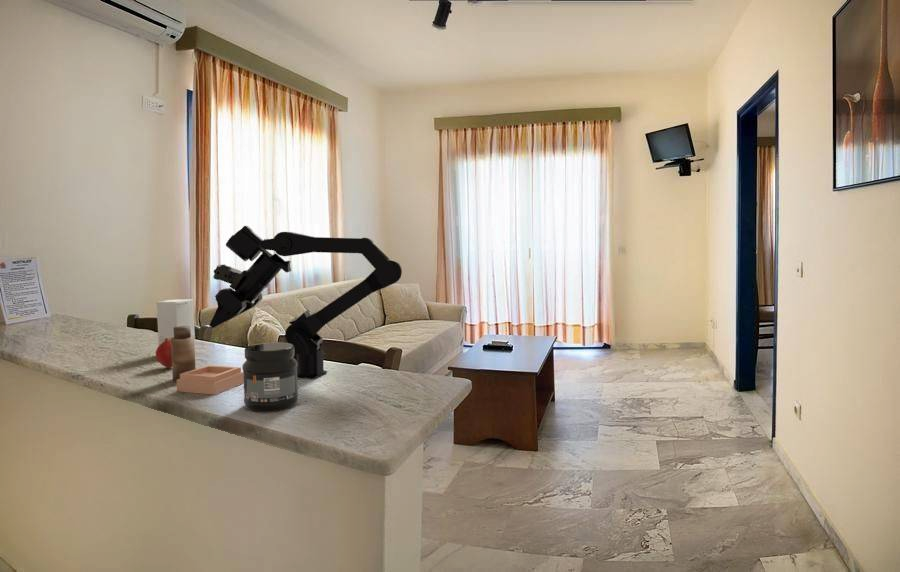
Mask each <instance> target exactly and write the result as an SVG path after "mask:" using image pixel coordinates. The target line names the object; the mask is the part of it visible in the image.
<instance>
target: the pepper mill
mask: <svg viewBox="0 0 900 572" xmlns="http://www.w3.org/2000/svg"><path fill="white" fill-rule="evenodd" d="M173 329H174V337H173V338H171V354H172V367H171V370H172V371H171V372H172V381H173V382H175V381H176V380H178V379H180V374H182V373H185V372H188V371H191V370H194V369H197V368H196V351H195V349H196V345H195V346H194V336H191V330H190V326H178V327H174V328H173ZM176 383H177V381H176Z"/></svg>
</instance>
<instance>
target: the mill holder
mask: <svg viewBox="0 0 900 572" xmlns="http://www.w3.org/2000/svg"><path fill="white" fill-rule="evenodd" d="M176 381H177V382H176V392H182V393H183V392H185V393H194V394H205V395H214V396H216V395H218V394H221V393H223V392H226V391H228V390H230V389H232V388H235V387H237V386H240V385H242V384H243V385H244V378H243V371H242V366H241V367H239V366H229V365H228V366H227V365H225V366H224V365H213V364H207V365H204V366H201V367H197V368H196V369H194V370H191V371H188V372H185V373H182V374H180V379H178V380H176Z"/></svg>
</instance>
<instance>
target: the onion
mask: <svg viewBox="0 0 900 572" xmlns="http://www.w3.org/2000/svg"><path fill="white" fill-rule="evenodd" d="M155 358H156V361H157V362H158V363H159V364H160V365H162V366H164V367H165V368H166V369H172V354H171V340H170V339H169V338H166V339H165V341H164V342H163V343H161V344H160V345H159V344H158V346H157V348H156V350H155Z"/></svg>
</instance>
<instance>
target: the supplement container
mask: <svg viewBox="0 0 900 572" xmlns="http://www.w3.org/2000/svg"><path fill="white" fill-rule="evenodd" d="M294 355H295V348H294V345H293V344H290V343H288V342H279V341H277V342H275V341H274V342H273V341H272V342H261V343H255V344H251V345H248V346H246V347H244V358H245V361H244V362H243V364H242V366H241V370H242V372H243V378H244V383H243V404H244V406H245V407H246V409H248V410H251V411H253V412H258V413H259V412H260V413H268V412H269V413H270V412H280V411H283V410H287V409H289V408H291V407H293V406H295V404H297V403H298V400H299V393H298V392H299V389H298V386H299V385H298V378H297V365H298V363H297V360H296V359H295V358H294V357H293V356H294Z"/></svg>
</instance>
